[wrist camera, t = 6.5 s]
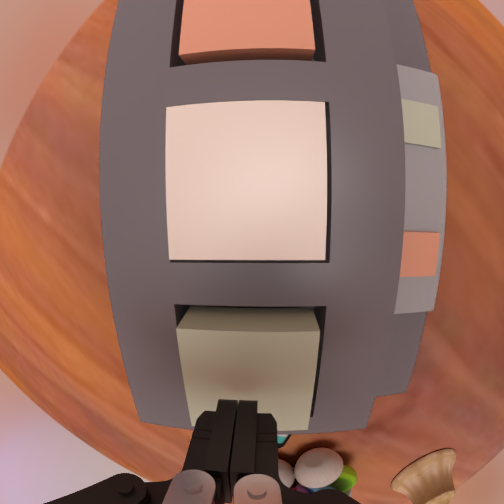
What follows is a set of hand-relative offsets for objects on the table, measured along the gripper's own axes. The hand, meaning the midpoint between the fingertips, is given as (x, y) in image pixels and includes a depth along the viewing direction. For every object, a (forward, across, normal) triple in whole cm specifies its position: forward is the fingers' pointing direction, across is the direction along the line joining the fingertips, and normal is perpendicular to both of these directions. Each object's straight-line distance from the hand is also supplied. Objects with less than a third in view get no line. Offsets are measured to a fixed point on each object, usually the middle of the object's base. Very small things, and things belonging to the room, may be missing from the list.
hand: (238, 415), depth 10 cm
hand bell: (+8, -20, +20) cm, 29 cm away
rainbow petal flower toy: (+8, -5, +16) cm, 18 cm away
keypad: (+8, -2, -9) cm, 12 cm away
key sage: (+5, 0, 0) cm, 5 cm away
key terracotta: (+6, 0, -18) cm, 19 cm away
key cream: (+5, 0, -9) cm, 10 cm away
